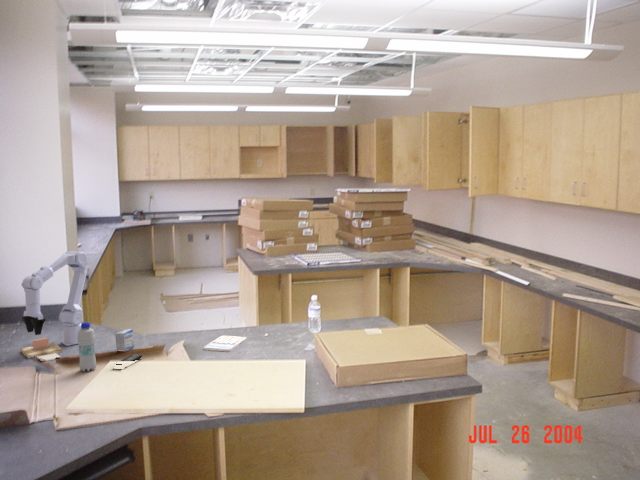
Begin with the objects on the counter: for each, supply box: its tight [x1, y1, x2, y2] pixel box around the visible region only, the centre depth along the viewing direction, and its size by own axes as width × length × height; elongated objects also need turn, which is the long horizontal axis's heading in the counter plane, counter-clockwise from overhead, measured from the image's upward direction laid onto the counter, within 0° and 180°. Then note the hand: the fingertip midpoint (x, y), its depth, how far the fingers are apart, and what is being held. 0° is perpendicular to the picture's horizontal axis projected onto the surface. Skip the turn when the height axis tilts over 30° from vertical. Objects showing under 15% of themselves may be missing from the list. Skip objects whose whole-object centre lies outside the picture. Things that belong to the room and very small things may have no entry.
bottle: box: [77, 321, 97, 372], centre depth 229 cm, size 7×7×20 cm
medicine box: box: [115, 328, 135, 352], centre depth 257 cm, size 8×4×9 cm, turn 168°
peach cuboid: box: [32, 337, 50, 350], centre depth 256 cm, size 6×2×6 cm, turn 130°
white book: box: [203, 334, 247, 352], centre depth 263 cm, size 13×20×2 cm, turn 164°
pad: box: [38, 353, 61, 362], centre depth 247 cm, size 8×8×1 cm
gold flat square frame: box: [20, 341, 63, 360], centre depth 256 cm, size 14×14×2 cm
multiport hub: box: [116, 353, 143, 365], centre depth 238 cm, size 4×14×2 cm, turn 165°
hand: (34, 333), depth 250 cm, fingers open, 7 cm apart
